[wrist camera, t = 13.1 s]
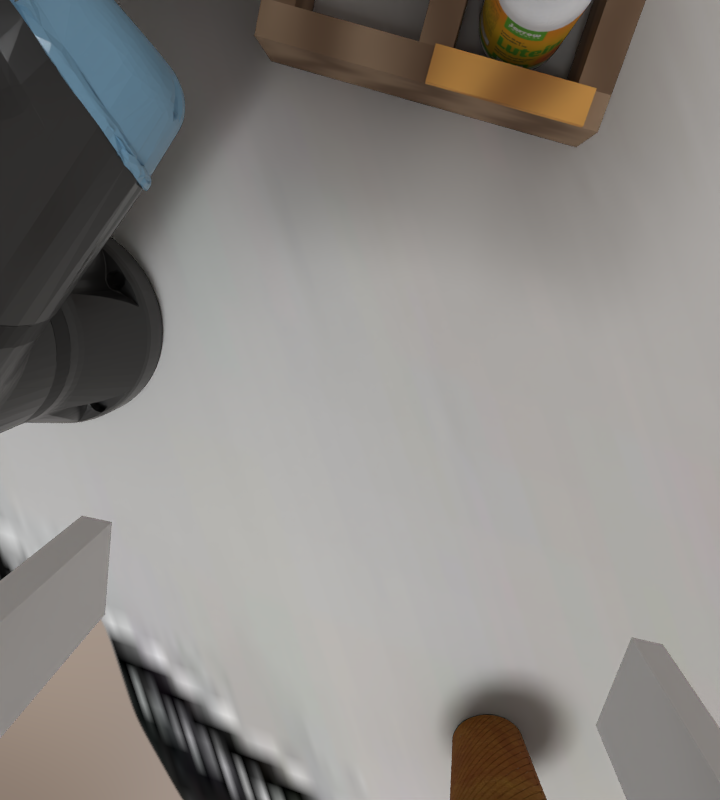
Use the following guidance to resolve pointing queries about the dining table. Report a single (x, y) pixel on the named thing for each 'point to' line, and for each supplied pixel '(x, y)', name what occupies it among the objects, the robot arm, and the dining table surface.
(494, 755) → the disposable coffee cup
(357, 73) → the rack
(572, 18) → the supplement bottle
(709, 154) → the dining table surface
